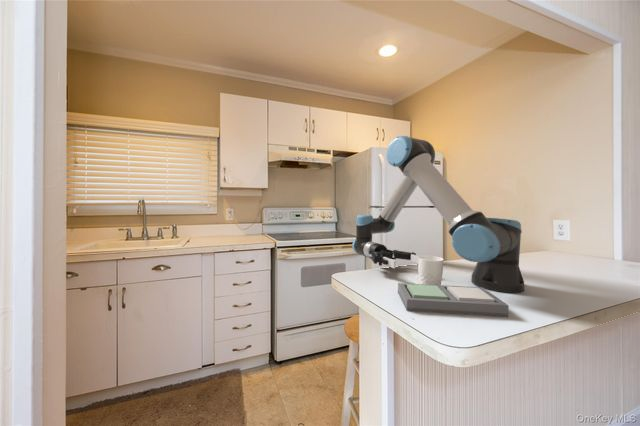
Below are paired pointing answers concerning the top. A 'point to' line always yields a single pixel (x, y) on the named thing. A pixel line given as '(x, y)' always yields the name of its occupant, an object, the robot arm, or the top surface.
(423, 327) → the top surface
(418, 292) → the sage key
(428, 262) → the white cup
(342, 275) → the top surface
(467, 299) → the white square tile
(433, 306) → the grey divided tray
